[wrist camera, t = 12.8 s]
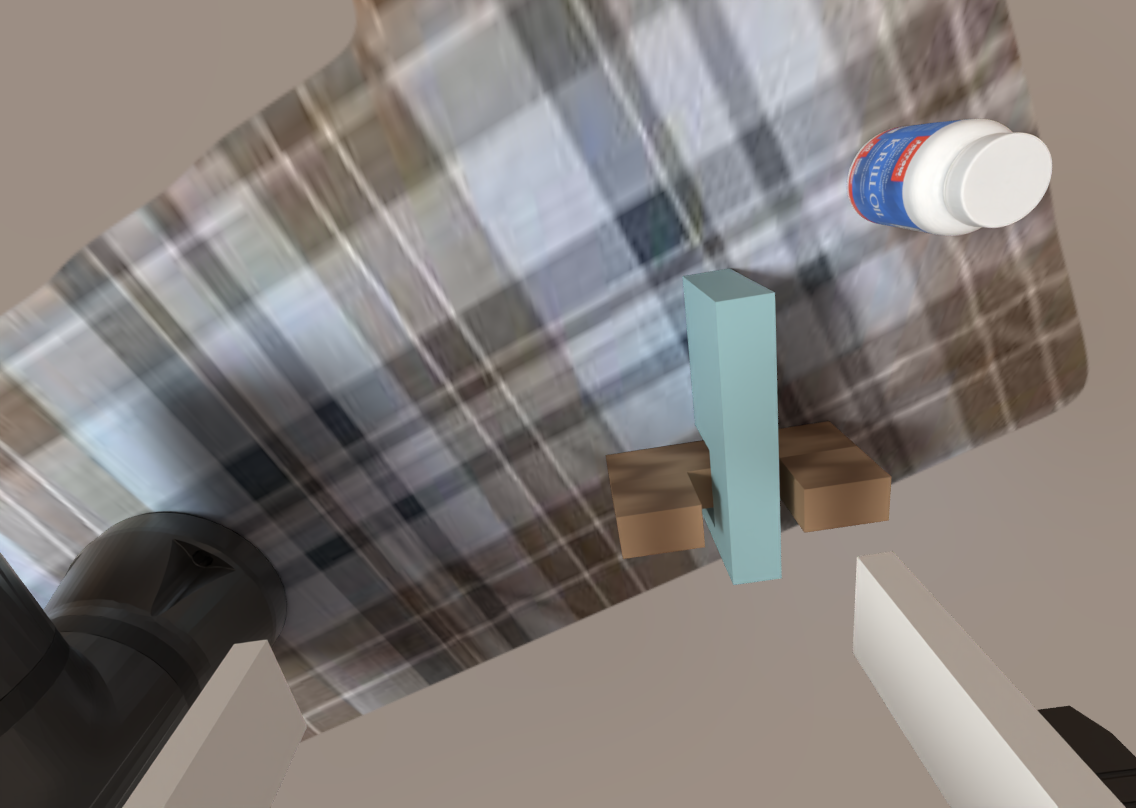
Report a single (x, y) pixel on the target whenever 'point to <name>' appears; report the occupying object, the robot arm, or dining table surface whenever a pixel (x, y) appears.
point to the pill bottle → (949, 176)
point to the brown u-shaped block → (684, 487)
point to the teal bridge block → (737, 416)
